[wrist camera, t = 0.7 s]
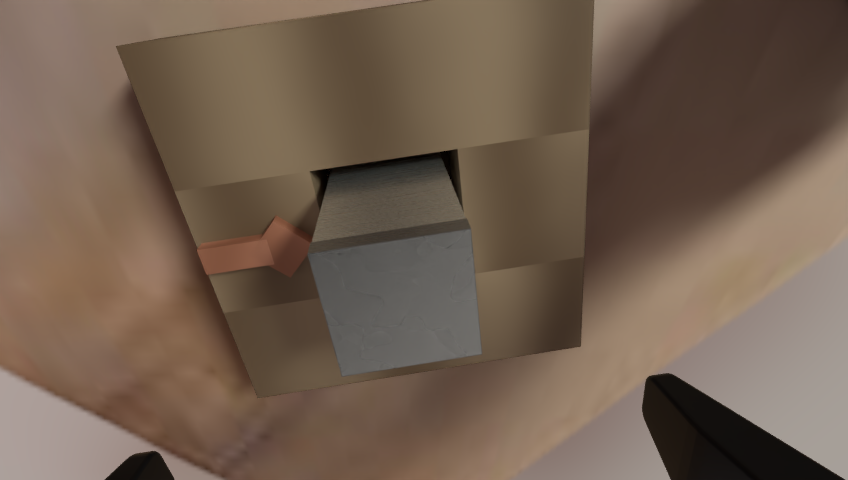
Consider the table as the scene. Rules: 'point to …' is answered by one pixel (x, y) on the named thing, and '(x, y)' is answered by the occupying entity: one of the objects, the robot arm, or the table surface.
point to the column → (395, 266)
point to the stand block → (374, 141)
